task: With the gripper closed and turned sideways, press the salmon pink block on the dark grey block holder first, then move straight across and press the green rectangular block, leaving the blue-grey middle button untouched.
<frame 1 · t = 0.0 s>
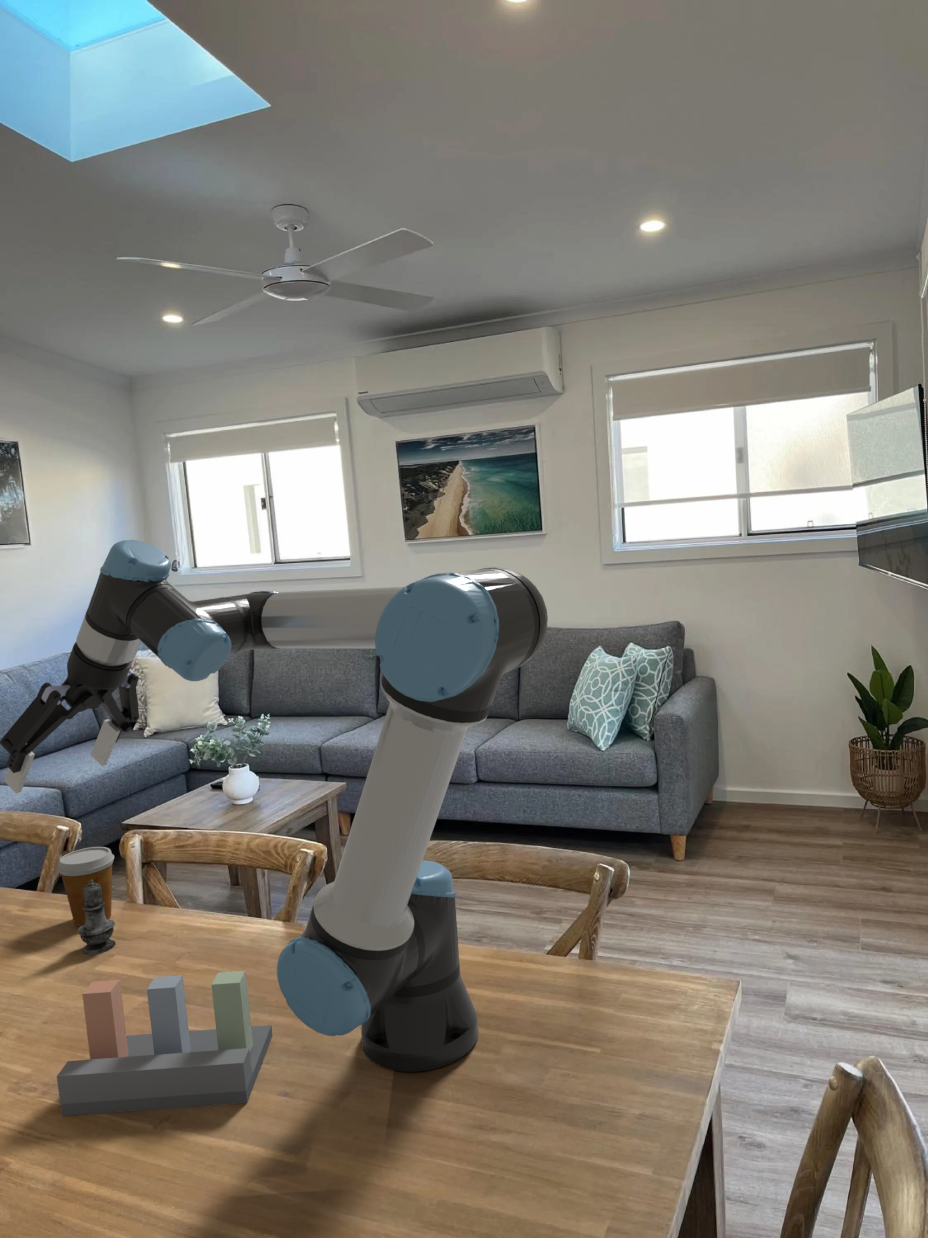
hand: (57, 772, 123), 36 cm above the table, tool tilted 35°, fingers open, 13 cm apart
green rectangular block: (232, 1015, 111), point 7 cm above the table, slide at 0.0 cm
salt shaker: (99, 948, 149), on the table
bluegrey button: (169, 1020, 111), point 7 cm above the table, slide at 0.0 cm
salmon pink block: (105, 1024, 111), point 7 cm above the table, slide at 0.0 cm
disposable coffee cup: (93, 920, 161), on the table
dark grey block holder: (173, 1073, 111), on the table
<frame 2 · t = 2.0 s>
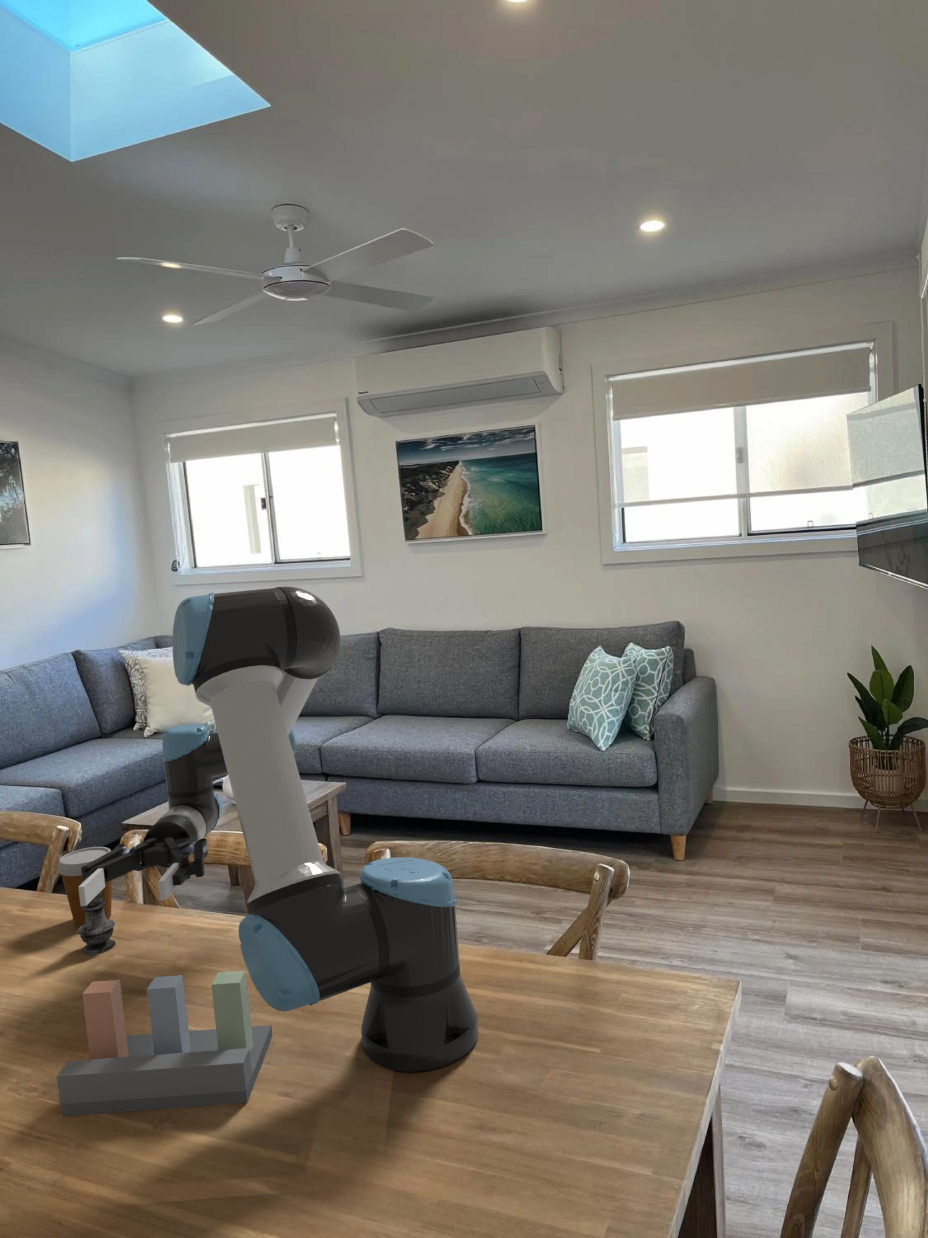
hand: (122, 893, 119), 20 cm above the table, tool horizontal, fingers open, 10 cm apart
nothing on the table moved.
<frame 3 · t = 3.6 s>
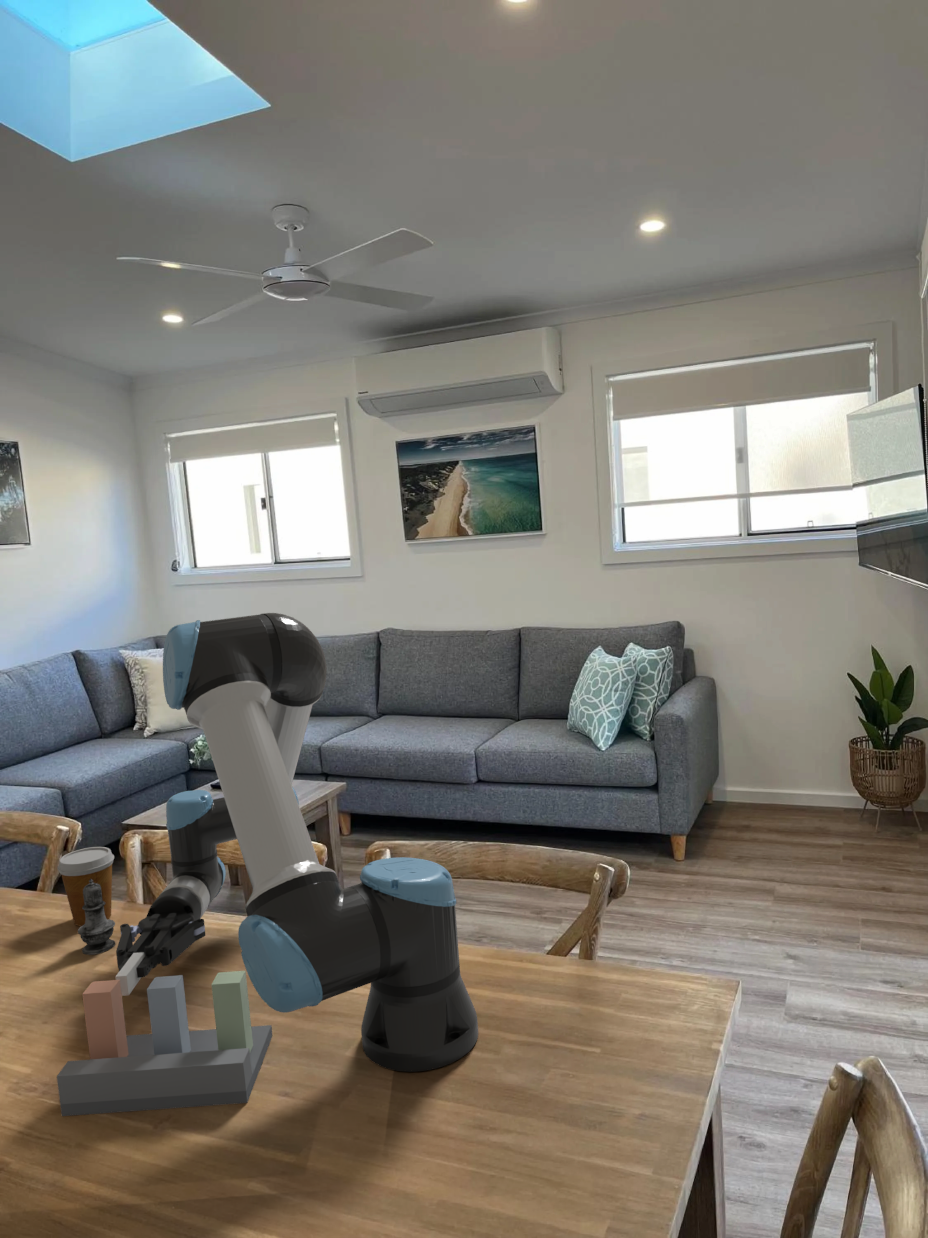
hand: (122, 986, 117), 9 cm above the table, tool horizontal, fingers closed
nothing on the table moved.
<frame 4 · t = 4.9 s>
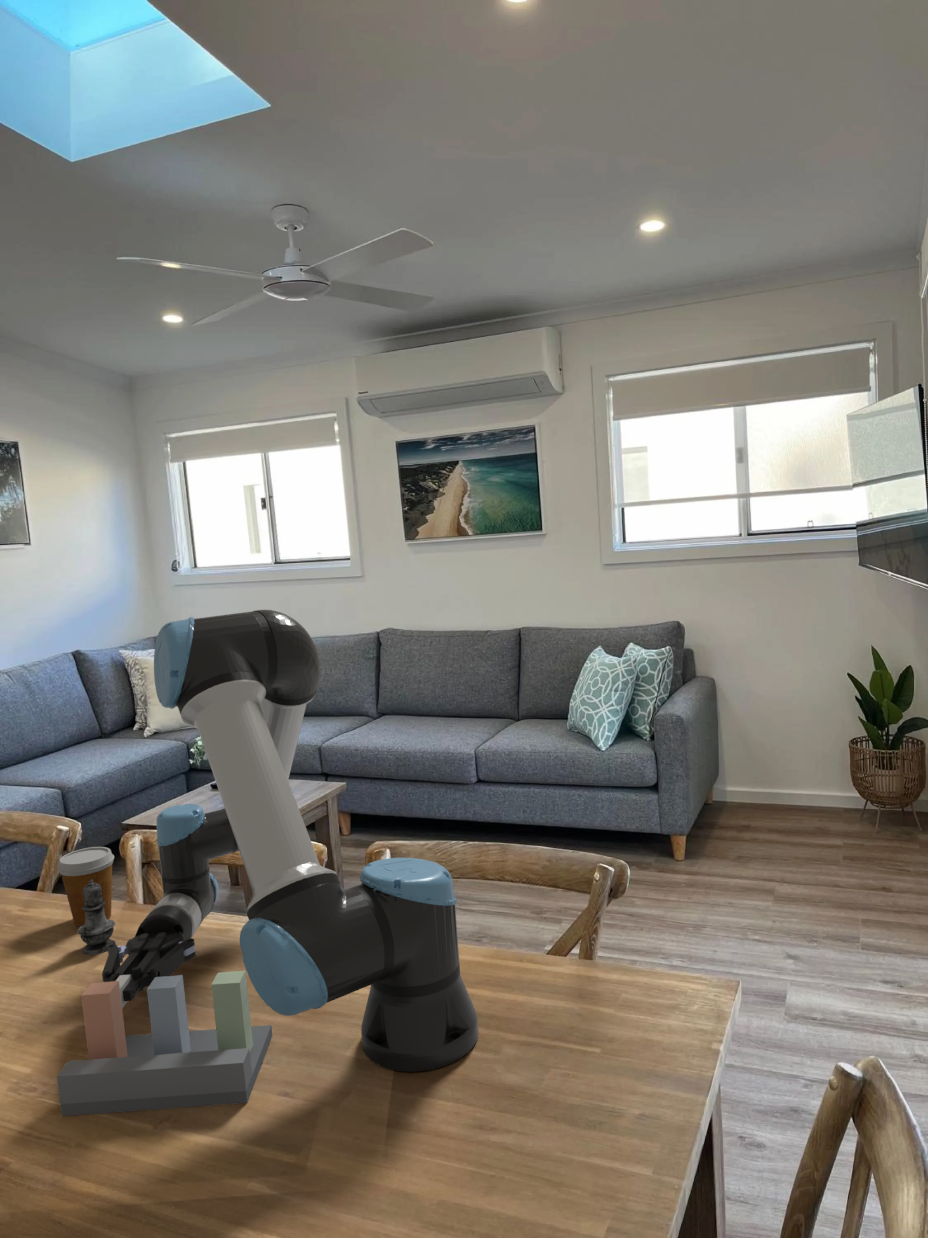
hand: (107, 1010, 112), 8 cm above the table, tool horizontal, fingers closed
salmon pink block: (104, 1026, 111), point 7 cm above the table, slide at 0.3 cm, touching gripper
everything else where it was.
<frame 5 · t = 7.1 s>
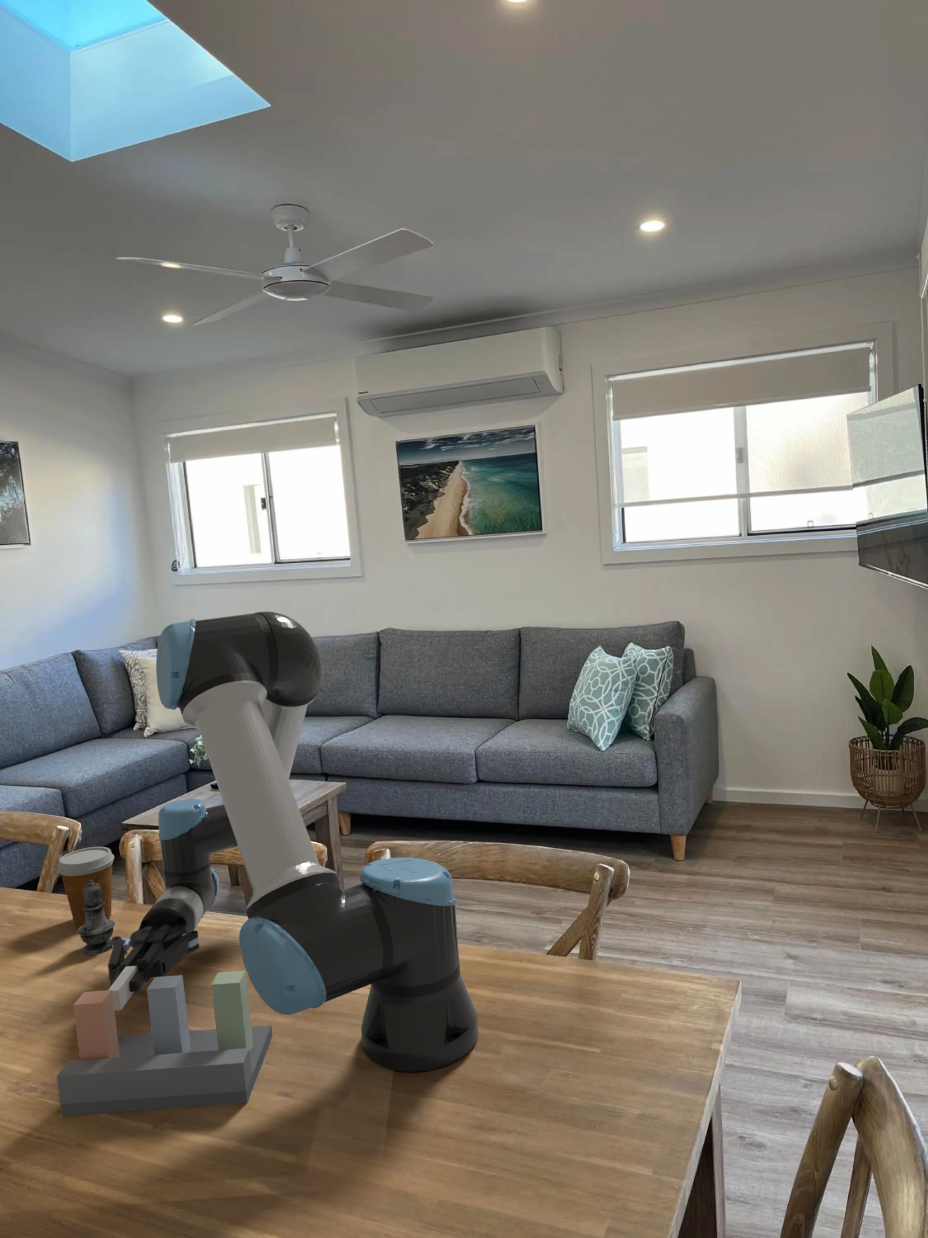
hand: (114, 1000, 114), 8 cm above the table, tool horizontal, fingers closed
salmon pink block: (97, 1036, 109), point 7 cm above the table, slide at 2.6 cm
everything else where it was.
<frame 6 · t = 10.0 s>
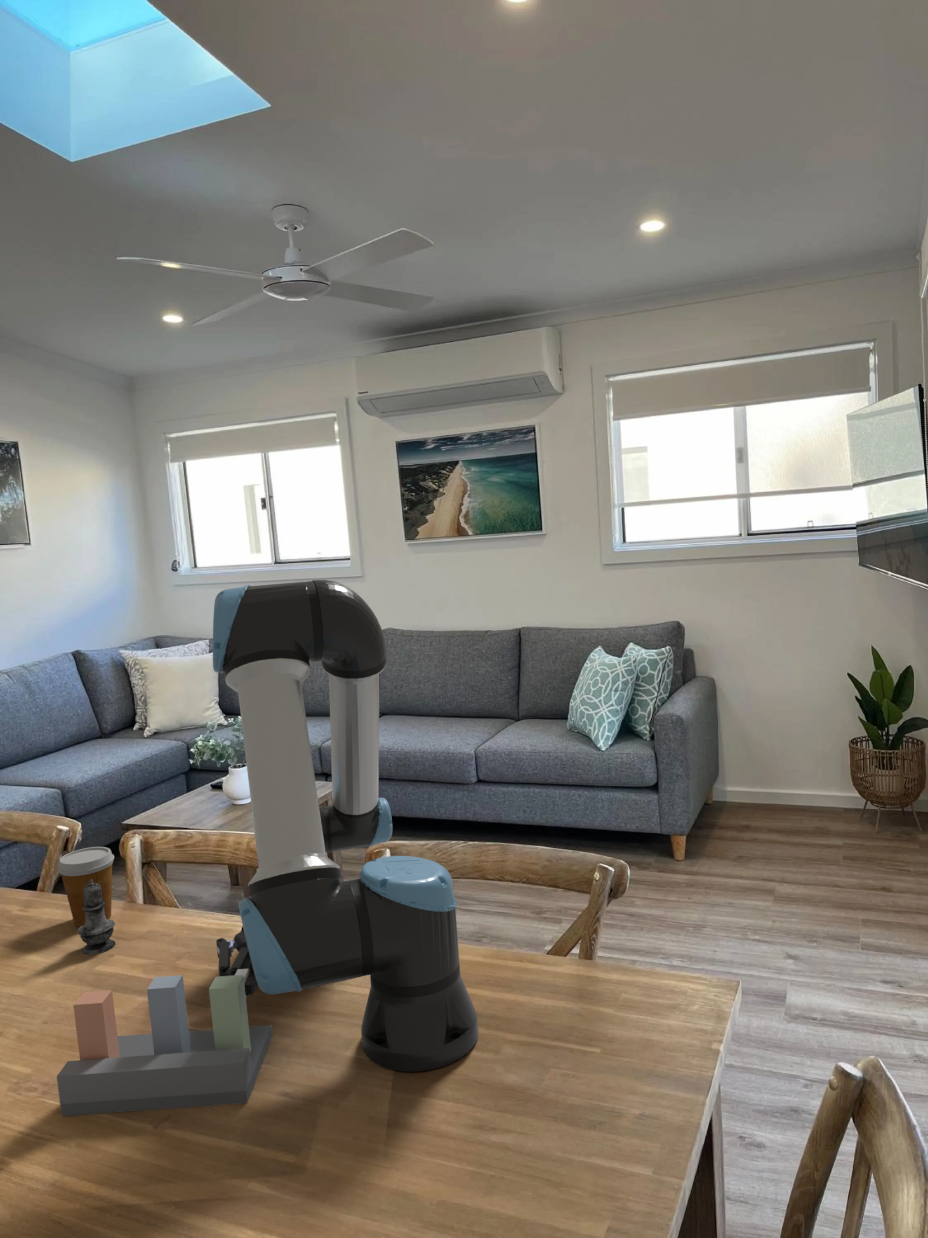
hand: (231, 1004, 112), 8 cm above the table, tool horizontal, fingers closed
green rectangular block: (230, 1020, 110), point 7 cm above the table, slide at 1.1 cm, touching gripper
everything else where it was.
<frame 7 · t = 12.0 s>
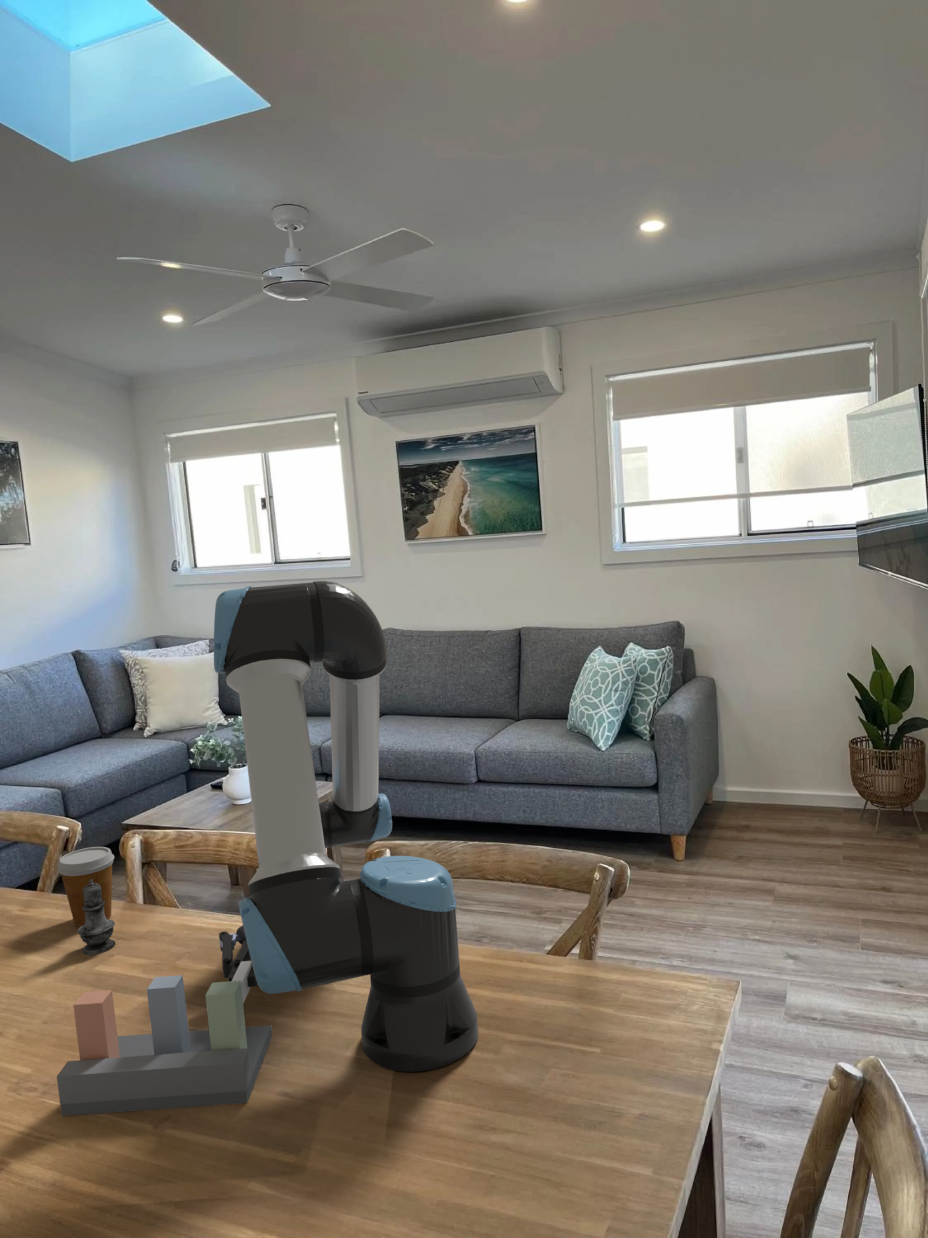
hand: (235, 995, 113), 8 cm above the table, tool horizontal, fingers closed
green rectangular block: (227, 1026, 109), point 7 cm above the table, slide at 2.6 cm
everything else where it was.
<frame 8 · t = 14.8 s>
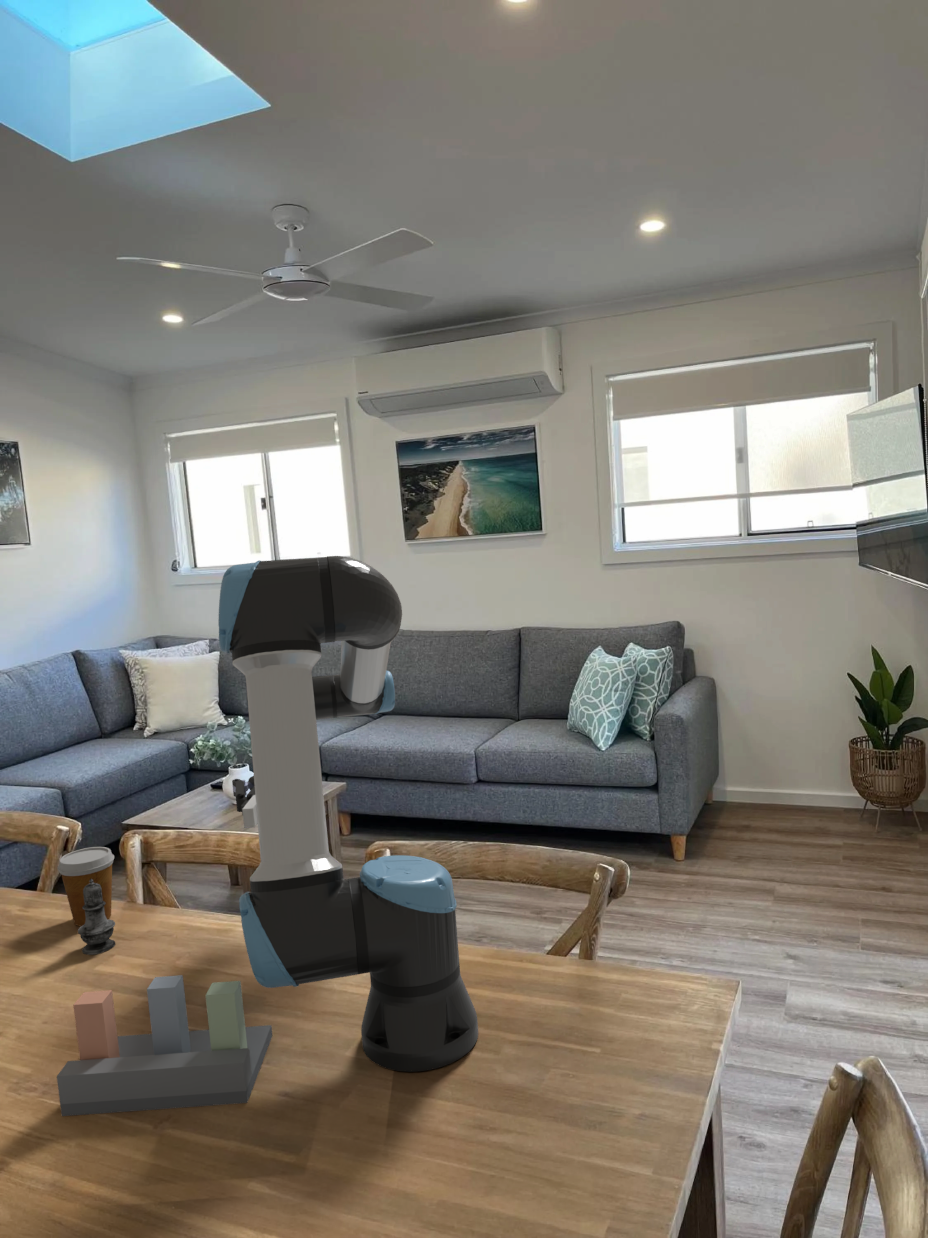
hand: (248, 818, 122), 28 cm above the table, tool horizontal, fingers closed
nothing on the table moved.
at the end: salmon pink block slide at 2.6 cm; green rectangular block slide at 2.6 cm; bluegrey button slide at 0.0 cm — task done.
